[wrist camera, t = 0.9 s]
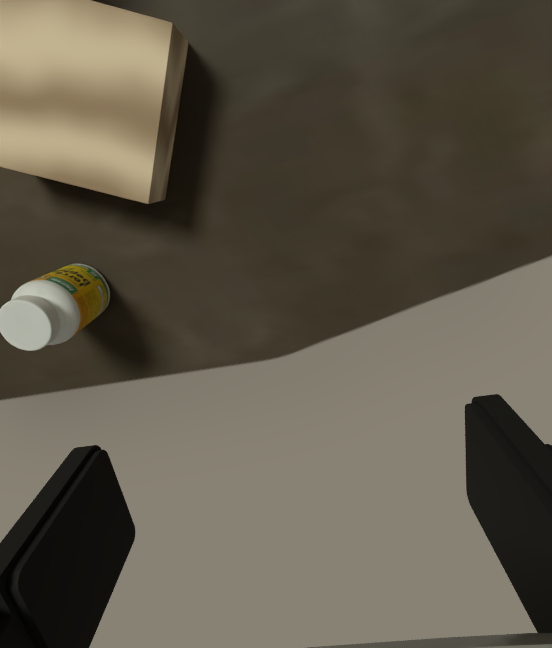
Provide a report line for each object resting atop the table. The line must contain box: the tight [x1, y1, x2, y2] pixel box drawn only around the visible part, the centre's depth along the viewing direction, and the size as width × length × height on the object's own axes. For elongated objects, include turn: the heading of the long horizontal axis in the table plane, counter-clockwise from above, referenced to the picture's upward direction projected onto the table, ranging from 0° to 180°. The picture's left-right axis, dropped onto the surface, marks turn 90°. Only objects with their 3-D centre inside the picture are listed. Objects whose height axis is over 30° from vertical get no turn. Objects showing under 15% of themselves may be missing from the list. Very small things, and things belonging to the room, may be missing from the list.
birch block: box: [0, 0, 188, 204], centre depth 32 cm, size 12×12×5 cm
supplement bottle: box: [0, 264, 110, 351], centre depth 35 cm, size 5×5×10 cm
